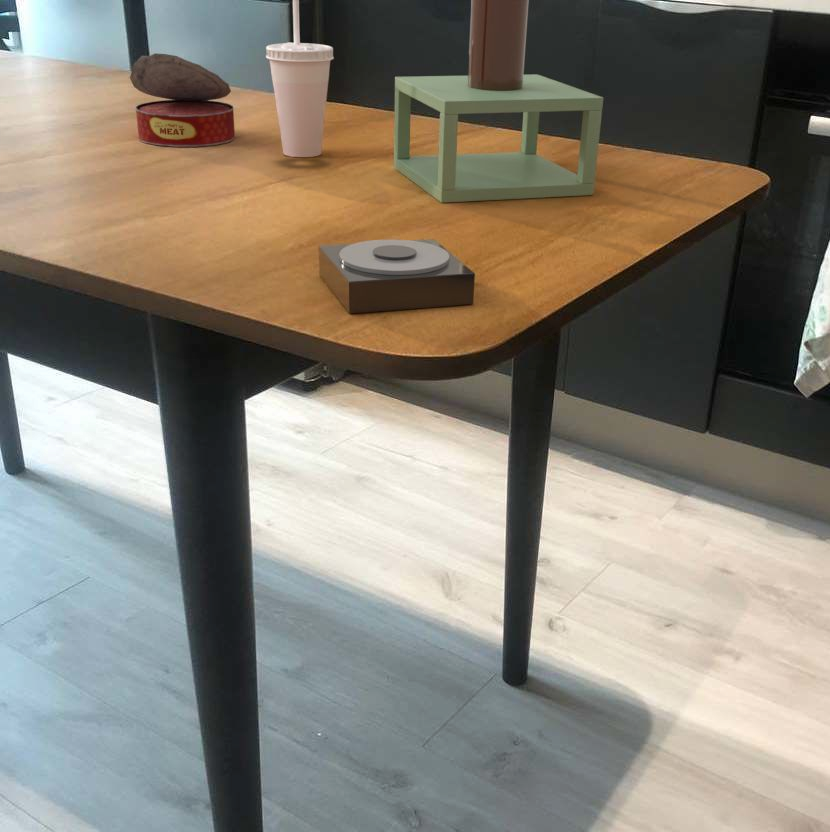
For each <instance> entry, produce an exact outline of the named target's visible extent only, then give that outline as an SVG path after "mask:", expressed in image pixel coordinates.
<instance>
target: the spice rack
mask: <svg viewBox="0 0 830 832" xmlns="http://www.w3.org/2000/svg"><path fill="white" fill-rule="evenodd" d="M412 99H414V100H417V101H419V102H420V103H422V104H424V105H426V106H427V107H430V108H431V109H433V110H436V111H437V112H440V113H439V130H438V154H435V155H434V154H433V155H410V153H411V115H412V113H411V112H412V110H411V109H412V108H411V107H412V106H411V105H412ZM603 104H604V97H603V96H600V95H597V94H595V93H591V92H589V91H586V90H583V89H580V88H577V87H575V86H572V85H569V84H566V83H564V82H560V81H557V80H554V79H551V78H548V77H546V76H544V75H540V74H537V73H536V74H535V73H533V74H524V77H523V87H522V88H521V89H518V90H510V91H492V90H481V89H475V88H471V87H469V86H468V75H425V76H423V75H422V76H421V75H420V76H418V75H417V76H395V77H394V118H393V119H394V122H393V123H394V124H393V125H394V127H393V129H394V130H393V132H394V133H393V168H394V169H395V170H396V171H398V172H399V173H401V175H403V176H404V177H405V178H407V179H408V180H410V181H411V182H412V183H413V184H416V185H417V186H418V187H419V188H420V189H422V190H423V191H425V192H426V193H427V194H429V195H430V196H432V197H433V198H434V199H436V200H437V201H438V202H440V203H441V204H443V203H444V204H445V203H465V202H466V203H467V202H482V201H483V202H485V201H503V200H524V199H525V200H526V199H543V198H544V199H545V198H562V197H563V198H564V197H581V196H582V197H583V196H584V197H585V196H594V191H595V183H596V173H597V171H596V170H597V165H598V164H597V162H598V155H599V143H600V134H601V125H602V115H603V107H604V105H603ZM543 112H544V113H546V112H547V113H549V112H551V113H552V112H582V120H581V129H580V130H581V132H580V142H579V151H578V162H577V171H576V172H577V173H575V172H572V171H571V170H569V169H567V168H565V167H563V166H561V165H559V164H558V163H556V162H553V161H551V160H549V159H547V158H545V157H543V156H541V155H539V154H537V149H538V138H539V124H540V113H543ZM507 113H510V114H511V113H523V114H522V125H521V127H522V128H521V130H522V131H521V143H520V151H515V152H514V151H513V152H511V151H510V152H489V153H488V152H487V153H486V152H485V153H484V152H483V153H460V154H459V153H457V152H458V151H457V149H458V131H459V130H458V129H459V128H458V127H459V115H467V114H468V115H472V114H507Z"/></svg>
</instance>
